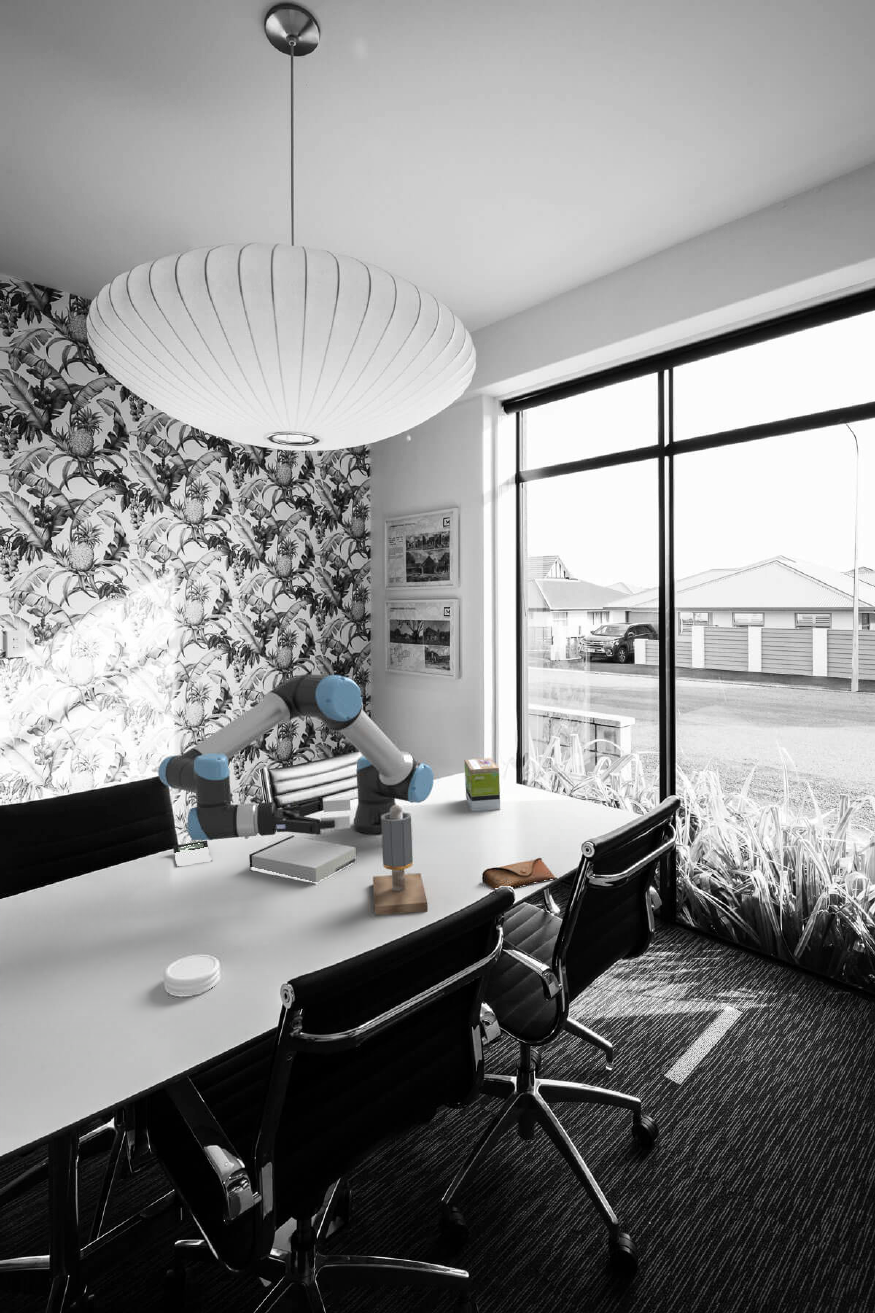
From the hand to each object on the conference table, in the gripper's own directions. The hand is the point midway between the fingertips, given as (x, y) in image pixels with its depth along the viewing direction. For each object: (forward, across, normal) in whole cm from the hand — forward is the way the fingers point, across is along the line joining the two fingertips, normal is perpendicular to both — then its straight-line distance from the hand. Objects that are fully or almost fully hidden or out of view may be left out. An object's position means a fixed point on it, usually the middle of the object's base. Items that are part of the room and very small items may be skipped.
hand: (350, 812), depth 169 cm
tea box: (+44, -73, -23) cm, 88 cm away
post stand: (+11, 0, -22) cm, 24 cm away
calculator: (-46, -38, -22) cm, 64 cm away
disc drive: (-14, -25, -22) cm, 37 cm away
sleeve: (+11, 0, -13) cm, 17 cm away
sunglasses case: (+42, -5, -23) cm, 48 cm away
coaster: (-30, +32, -21) cm, 49 cm away
